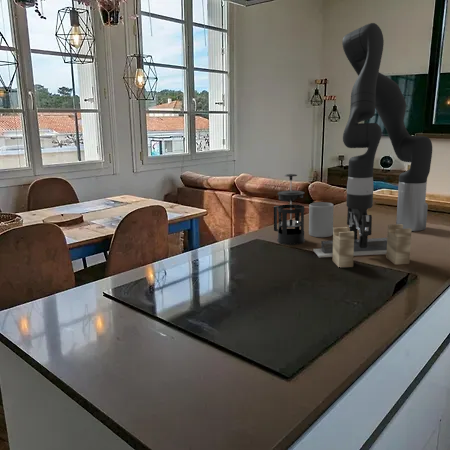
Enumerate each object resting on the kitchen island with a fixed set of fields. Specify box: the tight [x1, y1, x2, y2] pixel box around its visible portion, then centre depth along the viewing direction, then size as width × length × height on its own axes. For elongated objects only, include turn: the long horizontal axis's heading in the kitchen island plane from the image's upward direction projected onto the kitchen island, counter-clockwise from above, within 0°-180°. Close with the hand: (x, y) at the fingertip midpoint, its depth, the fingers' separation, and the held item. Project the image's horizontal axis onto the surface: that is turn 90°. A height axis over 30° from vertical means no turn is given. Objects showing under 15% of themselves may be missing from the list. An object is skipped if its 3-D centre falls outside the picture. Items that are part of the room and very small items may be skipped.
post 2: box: [385, 223, 412, 265], centre depth 120 cm, size 4×6×10 cm, turn 3°
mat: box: [312, 248, 387, 258], centre depth 131 cm, size 26×7×1 cm, turn 93°
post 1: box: [332, 226, 354, 268], centre depth 120 cm, size 4×6×10 cm, turn 3°
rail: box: [320, 237, 387, 253], centre depth 131 cm, size 22×3×3 cm, turn 93°
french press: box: [273, 173, 306, 246], centre depth 143 cm, size 12×9×23 cm
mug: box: [308, 201, 335, 238], centre depth 153 cm, size 12×8×11 cm
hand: (357, 243), depth 130 cm, fingers open, 8 cm apart
